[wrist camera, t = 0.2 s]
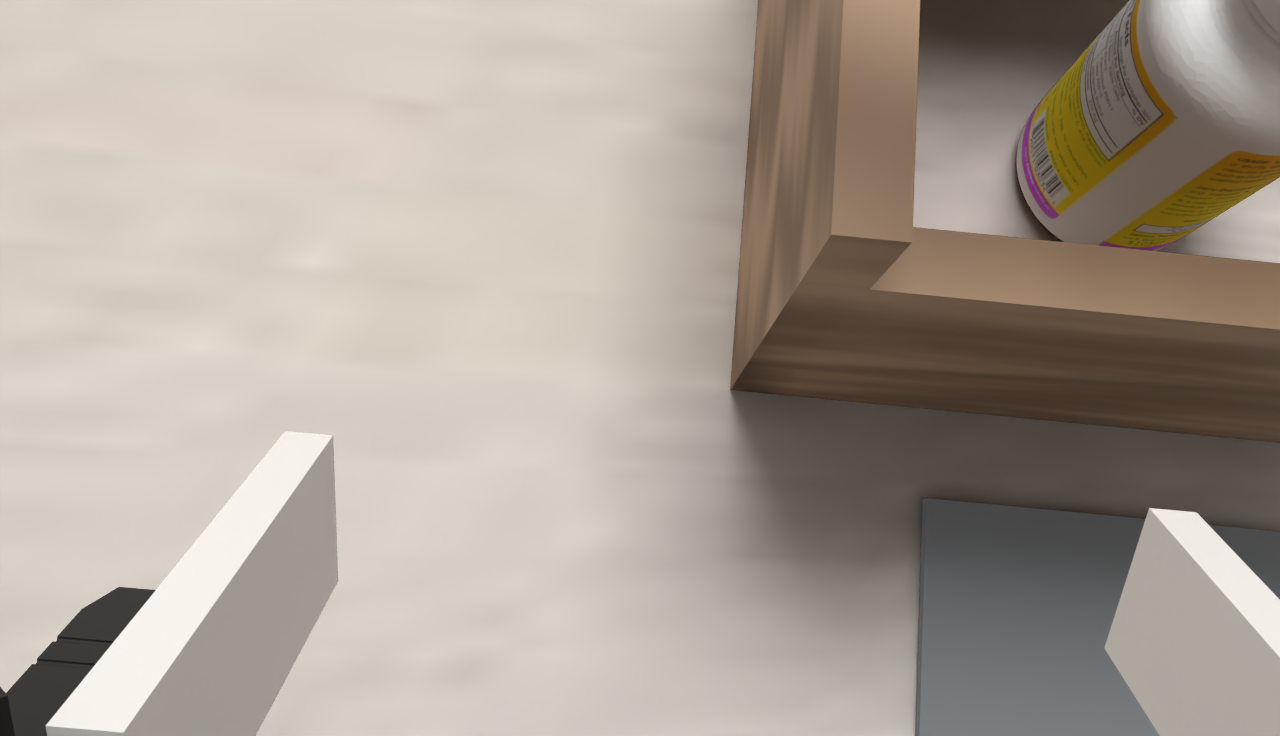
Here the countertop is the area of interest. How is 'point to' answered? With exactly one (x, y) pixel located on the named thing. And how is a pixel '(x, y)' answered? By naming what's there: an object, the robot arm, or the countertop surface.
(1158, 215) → the supplement bottle
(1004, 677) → the slate mat
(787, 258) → the cubby
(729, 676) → the countertop surface
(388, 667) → the countertop surface
